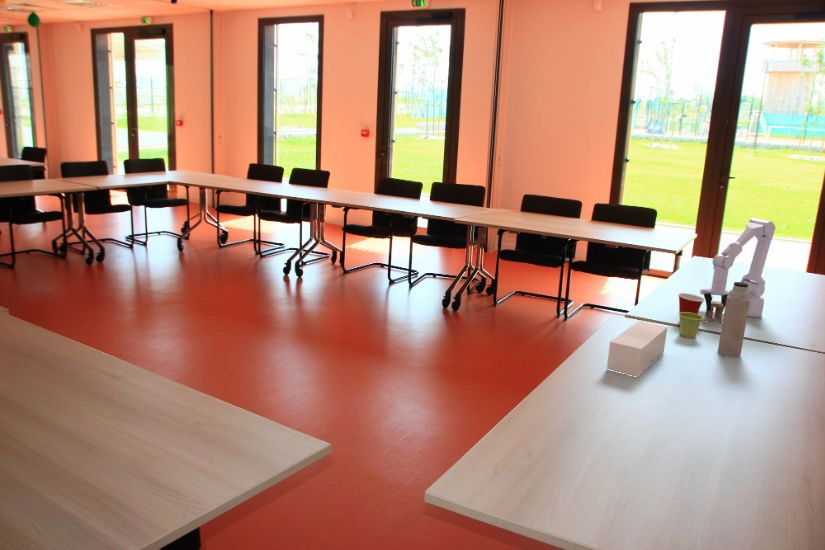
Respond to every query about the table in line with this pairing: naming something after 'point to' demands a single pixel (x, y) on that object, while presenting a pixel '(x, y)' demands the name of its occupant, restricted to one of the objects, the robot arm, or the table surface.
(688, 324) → the plant pot
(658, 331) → the beige rectangular block
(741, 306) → the thermos bottle
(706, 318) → the mat
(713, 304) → the stool
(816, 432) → the table surface
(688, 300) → the plastic cup
